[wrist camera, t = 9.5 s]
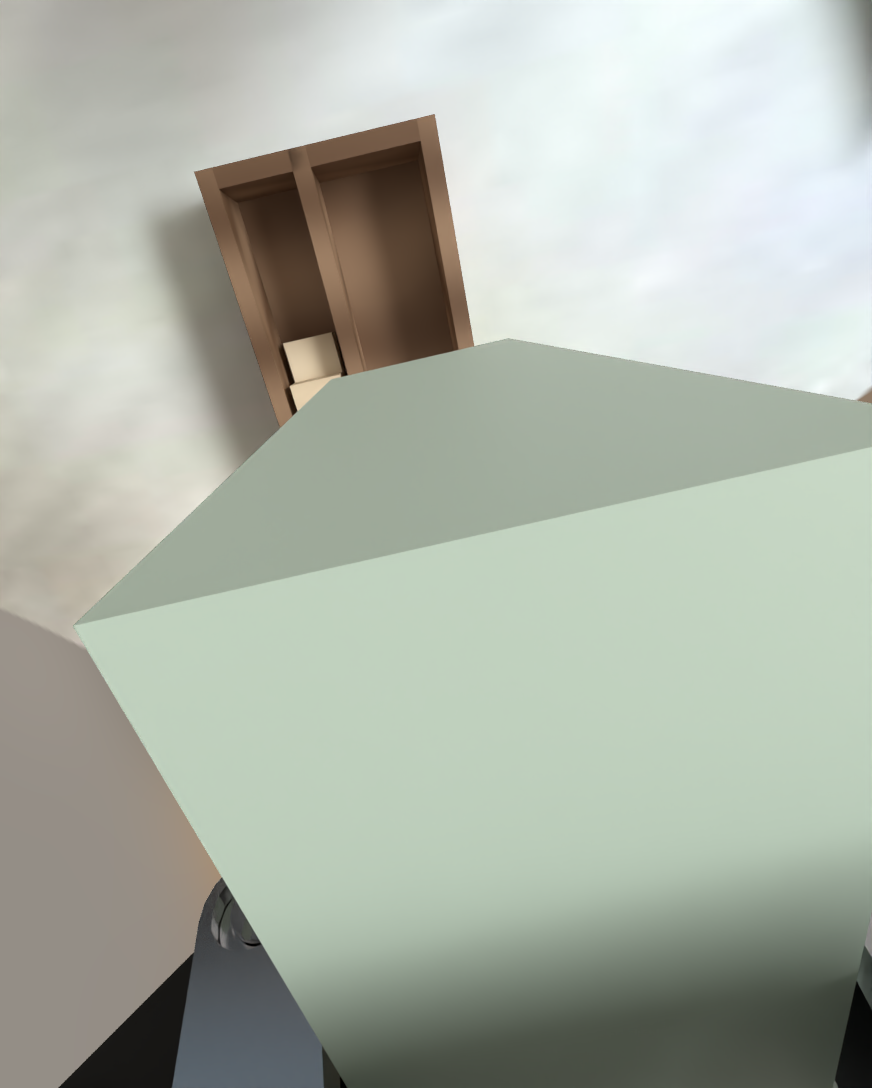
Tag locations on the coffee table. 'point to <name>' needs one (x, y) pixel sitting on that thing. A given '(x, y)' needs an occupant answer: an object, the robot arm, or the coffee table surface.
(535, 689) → the pale green block
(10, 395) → the coffee table surface
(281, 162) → the tray
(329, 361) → the offcut lower
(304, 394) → the offcut upper
